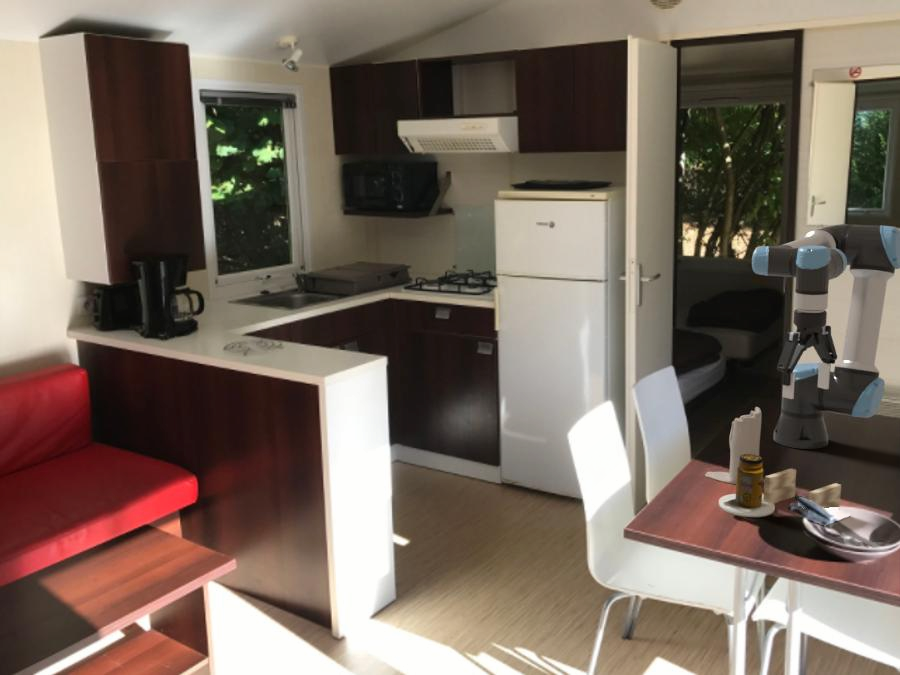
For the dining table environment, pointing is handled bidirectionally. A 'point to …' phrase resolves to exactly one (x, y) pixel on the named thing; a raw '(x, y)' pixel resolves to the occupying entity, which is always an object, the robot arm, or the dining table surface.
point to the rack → (784, 488)
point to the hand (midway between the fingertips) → (805, 393)
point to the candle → (741, 444)
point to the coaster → (755, 513)
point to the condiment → (748, 484)
